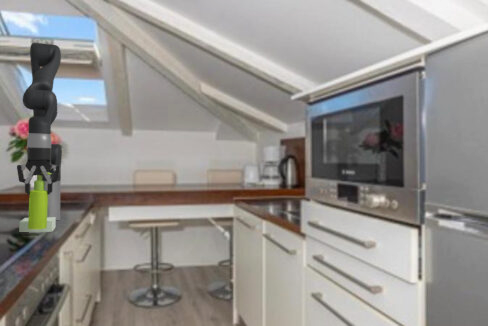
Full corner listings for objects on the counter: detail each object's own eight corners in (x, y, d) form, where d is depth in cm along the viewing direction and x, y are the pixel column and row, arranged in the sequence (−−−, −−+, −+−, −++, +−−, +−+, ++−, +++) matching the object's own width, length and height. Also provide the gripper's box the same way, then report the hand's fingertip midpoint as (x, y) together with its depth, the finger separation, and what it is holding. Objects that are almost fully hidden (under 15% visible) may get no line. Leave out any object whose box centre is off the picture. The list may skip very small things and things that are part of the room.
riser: (24, 228, 157) (25, 217, 157) (55, 227, 160) (55, 217, 160) (19, 232, 147) (19, 221, 147) (51, 231, 151) (52, 220, 151)
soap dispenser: (44, 230, 141) (46, 172, 141) (24, 228, 141) (27, 171, 141) (52, 227, 147) (55, 171, 147) (33, 226, 147) (36, 170, 147)
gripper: (62, 147, 149) (62, 193, 150) (18, 146, 145) (18, 193, 145) (60, 147, 142) (59, 195, 143) (14, 146, 138) (13, 195, 138)
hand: (38, 194), depth 144 cm, fingers closed on soap dispenser, 6 cm apart
